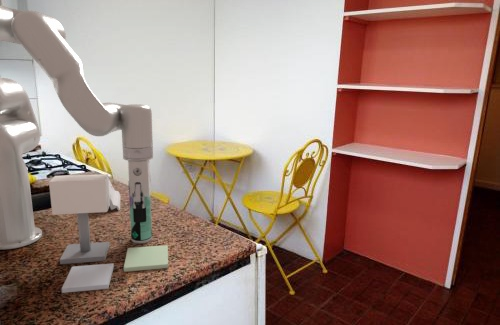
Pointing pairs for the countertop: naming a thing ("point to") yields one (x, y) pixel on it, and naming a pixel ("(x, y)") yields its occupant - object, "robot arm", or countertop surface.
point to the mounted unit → (81, 212)
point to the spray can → (142, 229)
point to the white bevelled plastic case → (114, 197)
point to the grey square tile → (88, 278)
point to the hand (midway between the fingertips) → (140, 216)
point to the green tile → (146, 258)
